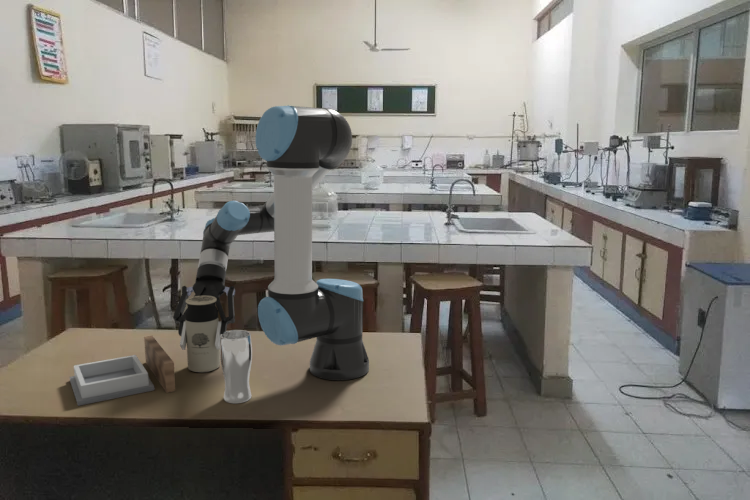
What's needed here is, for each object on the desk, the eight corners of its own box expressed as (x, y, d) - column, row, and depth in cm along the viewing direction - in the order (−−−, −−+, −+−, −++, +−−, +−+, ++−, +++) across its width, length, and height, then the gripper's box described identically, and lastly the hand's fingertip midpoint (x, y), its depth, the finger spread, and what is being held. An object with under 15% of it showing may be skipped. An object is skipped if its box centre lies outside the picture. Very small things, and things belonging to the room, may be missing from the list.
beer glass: (233, 389, 138) (231, 327, 135) (259, 394, 135) (257, 331, 132) (215, 401, 131) (212, 337, 128) (241, 406, 129) (239, 341, 126)
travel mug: (196, 360, 155) (193, 294, 152) (225, 362, 154) (222, 296, 151) (182, 372, 148) (178, 302, 144) (212, 374, 146) (209, 304, 143)
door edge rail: (175, 390, 136) (173, 362, 135) (166, 392, 135) (164, 364, 134) (153, 361, 155) (152, 335, 153) (145, 362, 153) (144, 336, 152)
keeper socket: (154, 390, 137) (153, 373, 136) (77, 405, 128) (76, 388, 127) (140, 367, 150) (139, 352, 149) (69, 380, 141) (68, 364, 141)
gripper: (252, 277, 163) (244, 353, 150) (176, 277, 162) (161, 353, 149) (248, 262, 157) (239, 340, 144) (169, 262, 156) (153, 340, 143)
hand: (199, 347), depth 146 cm, fingers closed on travel mug, 8 cm apart
